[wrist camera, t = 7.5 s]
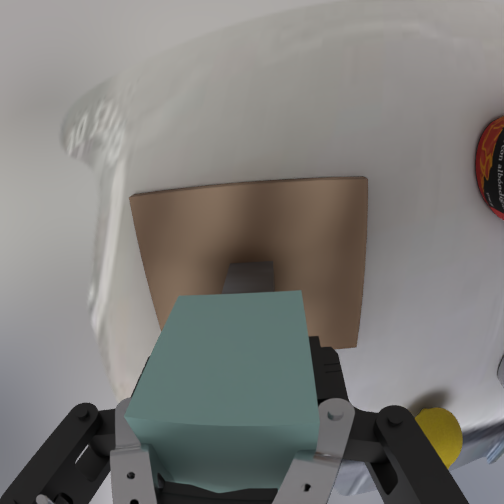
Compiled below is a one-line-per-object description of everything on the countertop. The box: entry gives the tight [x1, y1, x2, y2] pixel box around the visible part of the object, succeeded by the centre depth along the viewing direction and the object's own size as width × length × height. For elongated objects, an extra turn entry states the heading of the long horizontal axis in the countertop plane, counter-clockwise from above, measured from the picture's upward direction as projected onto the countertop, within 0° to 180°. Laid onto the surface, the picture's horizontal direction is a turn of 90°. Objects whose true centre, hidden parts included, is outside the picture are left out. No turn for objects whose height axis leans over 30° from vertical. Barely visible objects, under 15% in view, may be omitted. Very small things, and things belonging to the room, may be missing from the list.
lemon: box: [414, 407, 462, 469], centre depth 22 cm, size 6×6×8 cm
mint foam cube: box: [124, 290, 320, 493], centre depth 11 cm, size 5×5×7 cm
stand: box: [129, 177, 368, 349], centre depth 17 cm, size 14×12×8 cm
